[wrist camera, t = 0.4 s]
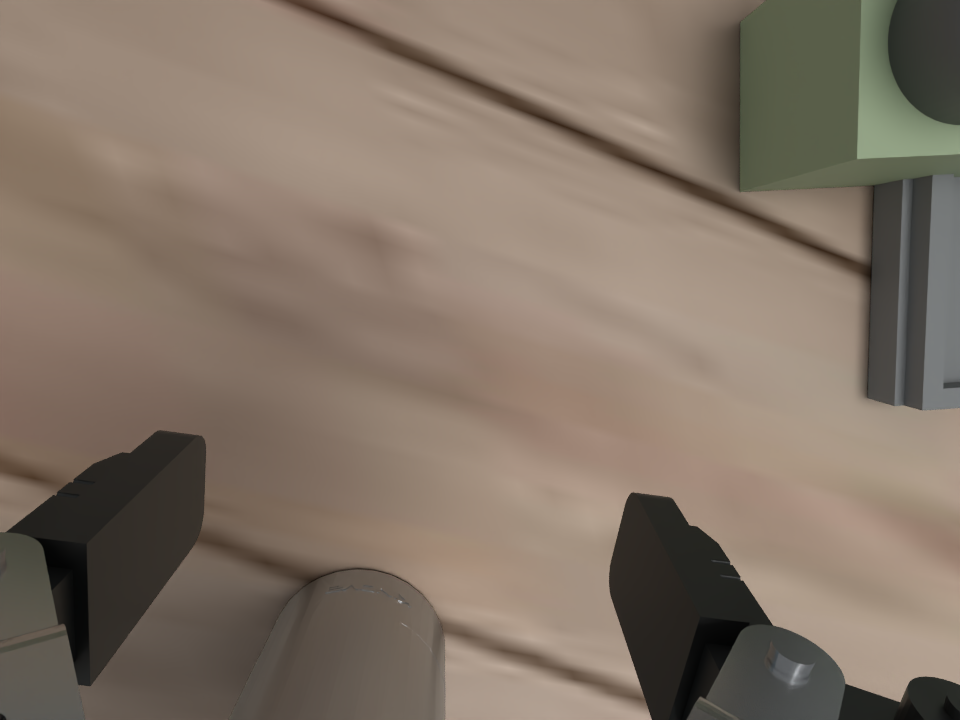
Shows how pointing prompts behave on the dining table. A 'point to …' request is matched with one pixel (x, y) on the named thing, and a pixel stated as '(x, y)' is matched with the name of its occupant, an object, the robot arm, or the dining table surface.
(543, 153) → the dining table surface
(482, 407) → the dining table surface
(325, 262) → the dining table surface
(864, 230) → the dining table surface
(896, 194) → the green block with tray
